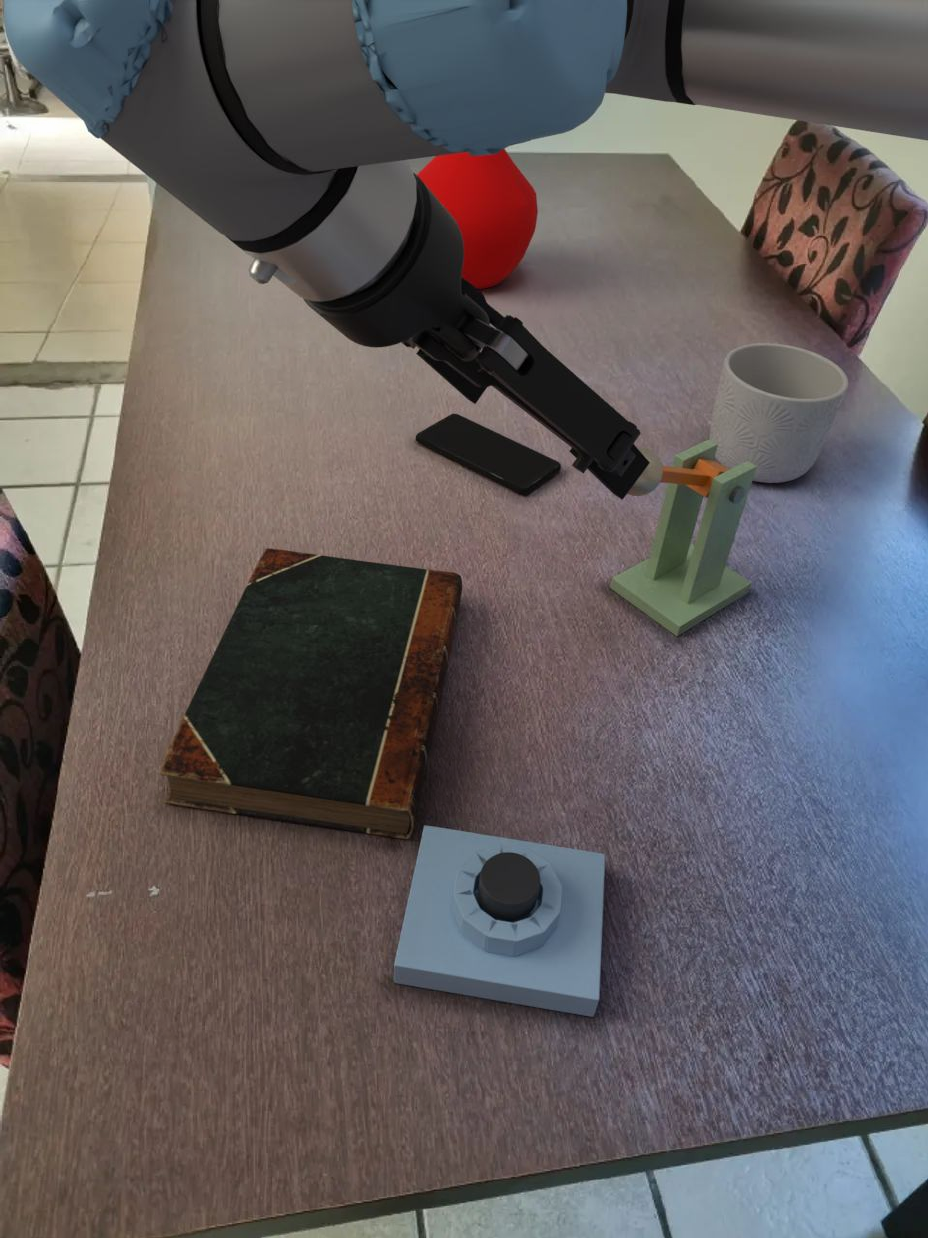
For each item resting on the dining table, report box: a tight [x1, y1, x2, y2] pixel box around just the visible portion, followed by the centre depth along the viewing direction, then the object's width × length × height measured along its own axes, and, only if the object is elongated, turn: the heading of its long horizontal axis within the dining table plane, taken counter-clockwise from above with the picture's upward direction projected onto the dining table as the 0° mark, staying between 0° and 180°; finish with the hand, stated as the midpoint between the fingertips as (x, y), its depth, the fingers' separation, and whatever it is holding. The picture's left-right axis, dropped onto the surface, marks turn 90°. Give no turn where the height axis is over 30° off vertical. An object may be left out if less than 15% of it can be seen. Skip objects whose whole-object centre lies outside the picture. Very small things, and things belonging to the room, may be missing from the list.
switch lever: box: [626, 446, 730, 499], centre depth 73 cm, size 14×4×4 cm, turn 130°
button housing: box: [393, 824, 606, 1018], centre depth 58 cm, size 12×10×4 cm
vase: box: [416, 148, 539, 290], centre depth 125 cm, size 18×18×30 cm
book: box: [158, 547, 463, 840], centre depth 72 cm, size 17×4×25 cm
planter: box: [708, 342, 849, 484], centre depth 99 cm, size 12×12×11 cm
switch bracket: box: [609, 439, 757, 637], centre depth 80 cm, size 10×8×14 cm
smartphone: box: [415, 413, 562, 496], centre depth 99 cm, size 7×1×15 cm
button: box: [478, 852, 540, 920], centre depth 56 cm, size 4×4×2 cm
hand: (553, 429), depth 60 cm, fingers open, 13 cm apart
